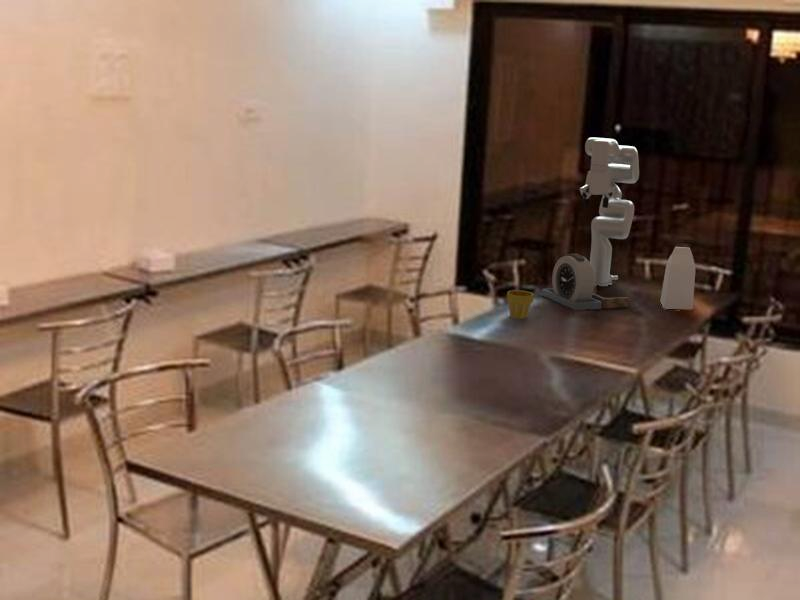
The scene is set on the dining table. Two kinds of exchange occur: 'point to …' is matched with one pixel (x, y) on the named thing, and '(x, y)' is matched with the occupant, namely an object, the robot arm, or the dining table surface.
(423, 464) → the dining table surface
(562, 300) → the slate tray
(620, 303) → the walnut stall
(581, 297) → the alarm clock
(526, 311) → the plant pot
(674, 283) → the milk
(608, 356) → the dining table surface
